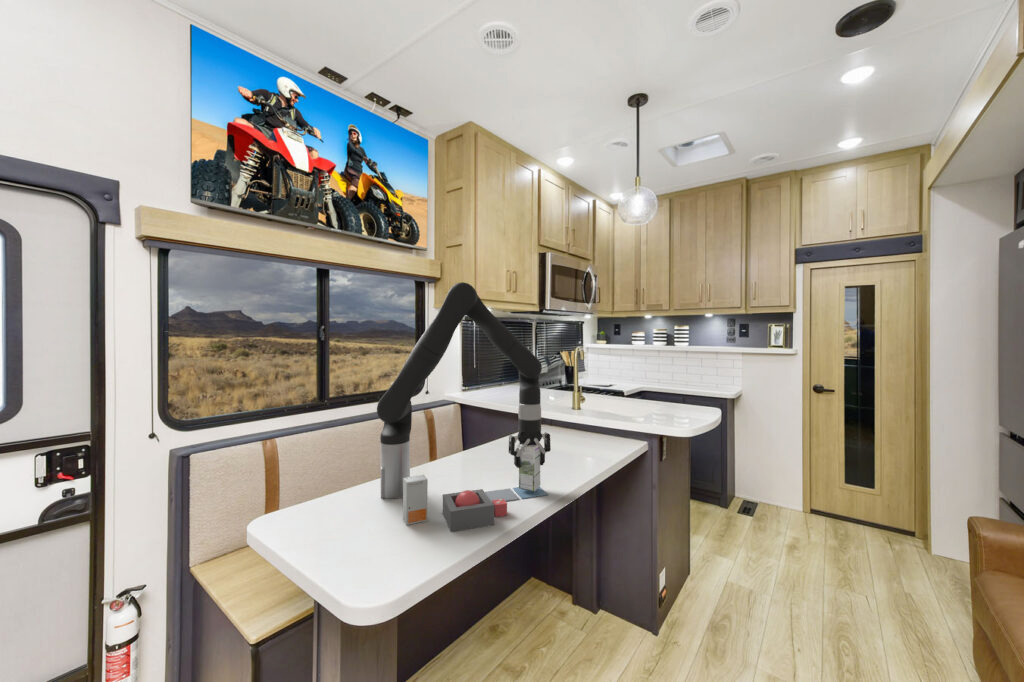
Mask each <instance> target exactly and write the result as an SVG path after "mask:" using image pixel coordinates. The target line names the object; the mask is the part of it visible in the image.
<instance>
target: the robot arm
mask: <svg viewBox="0 0 1024 682" xmlns="http://www.w3.org/2000/svg"><path fill="white" fill-rule="evenodd" d="M465 316H467V317H468V318H469V319H471V321H472V322H473V323H474V324H476V325H477V327H479V328H480V330H481V331H482V333H483V334H484V335H485V336H486V338H488V340H489V342H491V344H492V345H493V346H494V347H495V348H496V349H497V350H498V351H499V352H500V353H501V354H502V355H503V356H504V357H505V358H507V360H509V361H510V362H511V363H512V365H513V366H514V367H515V368H516V369H517V370H518V382H519V393H518V394H519V395H518V397H519V398H518V399H519V402H518V403H519V404H518V413H517V416H518V418H517V419H518V433H517V435H512V434H511V435H509V436H508V454H510V455H511V456H514V457H513V464H514V466H515V467H516V468H517V469H519V468H520V454H521V453H522V451H524V449H525V447H526V446H528V445H534V444H536V445H538V447H539V449H540V466H544V464H545V462H546V460H545V459H546V453H549V452H551V450H552V449H551V434H550V433H548V432H544V433H542V407H541V395H542V394H541V388H540V384H539V383H540V378H539V377H540V375H541V373H542V371H543V370H542V369H543V368H542V363H541V360H539V359H538V358H537V357H536V356H535V355H534V353H532V352H531V351H530V350H529V349H528V348H526V346H525V345H524V344H522V342H521V341H520V340H519V338H517V337H516V335H514V333H513V332H512V331H511V330H510V329H509V328H508V327H507V326H506V325H505V324H504V323H502V322H501V321H500V320H499V319H498V317H496V316H495V315H494V314H493V313H492V312H491V311H490V310H489V309H488V307H487V306H486V305H485V303H484V302H483V301H482V300H481V298H480V295H478V292H477V290H476V289H475V287H473V286H472V285H471V284H469V283H468V282H465V281H464V282H458V283H455V284H453V285H452V286H451V287H450V289H448V292H447V294H446V297H445V298H444V301H443V303H442V305H441V306H440V309H439V311H438V312H437V314H436V316H435V317H434V319H433V320H432V321H431V323H430V324H429V325H428V326H427V327H426V329H425V330H424V332H423V334H422V335H421V336H420V338H419V339H418V341H417V342H416V344H415V345H414V347H413V348H412V350H411V352H410V354H409V355H408V357H407V359H406V361H405V362H404V364H403V366H402V368H401V370H400V372H399V373H398V375H397V376H396V378H395V379H394V381H393V382H392V383H391V385H390V386H389V387H388V389H387V390H386V392H385V393H384V394H383V395H382V397H381V398H379V400H378V402H377V405H376V406H377V407H376V413H377V415H378V418H379V419H380V420H381V421H382V422H383V427H382V430H381V432H380V467H379V468H380V470H379V471H380V498H381V499H399V498H400V499H401V498H403V478H407V477H411V458H410V457H411V455H410V454H411V450H410V449H411V448H410V447H411V446H410V445H411V440H410V438H411V437H410V436H411V432H412V419H413V418H412V415H413V408H412V407H413V406H412V401H411V400H412V398H413V396H414V394H415V393H416V391H417V390H418V388H419V387H420V386H422V384H423V383H424V381H426V379H427V378H429V376H430V375H431V374H432V372H433V371H434V370H435V369H436V367H437V365H439V363H440V362H441V360H442V358H443V356H444V355H445V353H446V351H447V350H448V348H449V346H450V342H451V340H452V338H453V336H454V333H455V331H456V329H457V328H458V326H459V325H460V323H461V322H462V321H463V319H464V318H465ZM542 439H543V445H542V444H541V440H542ZM517 441H518V444H517V446H516V443H517ZM520 444H521V445H522V446H521V447H519V445H520ZM515 446H516V447H515Z"/></svg>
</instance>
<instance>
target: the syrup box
mask: <svg viewBox="0 0 1024 682" xmlns="http://www.w3.org/2000/svg"><path fill="white" fill-rule="evenodd" d="M521 446H522V445H521V444H520V445H519V447H521ZM518 487H519V489H524V490H529V491H536V490H537V489H538V488H539V487H541V465H540V449H539V447H538V445H536V444H534V445H528V446H526V447H525V449H524V451H522V453H521V454H520V468H518Z"/></svg>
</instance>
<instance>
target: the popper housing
mask: <svg viewBox="0 0 1024 682" xmlns="http://www.w3.org/2000/svg"><path fill="white" fill-rule="evenodd" d="M471 491H473V492H475V493H476V494H477V495H478V497H479V500H480V504H476V505H469V506H462V507H456V506H455V501H456V498H457V496H458V495H459V494H460V493H461V492H462V491H459V492H451V493H446V494H445V493H444V494H442V515H443V517H444V520H445V522H446V525H447V526H448V527H447V528H448V530H449V531H450V533H454V532H459V531H465V530H471V528H473V529H477V528H478V527H479V528H482V527H484V526H485V527H489V526H488V525H490V526H494V525H495V518H499V517H498V516H500V517H505V516H504V515H507V516H508V502H507V501H505V500H504V499H498V500H492V502H491V500H490V499H489V498H488V496H487V495H486V493H485V492H486V491H484V489H483V488H482V489H475V490H473V489H472V490H471ZM494 515H495V516H494ZM485 527H484V528H485Z"/></svg>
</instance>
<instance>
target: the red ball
mask: <svg viewBox="0 0 1024 682" xmlns="http://www.w3.org/2000/svg"><path fill="white" fill-rule="evenodd" d="M460 492H461V493H460V494H459V495H458V496H457V498H456V501H455V506H456V507H462V506H469V505H476V504H480V500H479V497H478V495H477V494H476V493H475V492H473V491H472V490H463V491H460Z"/></svg>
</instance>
